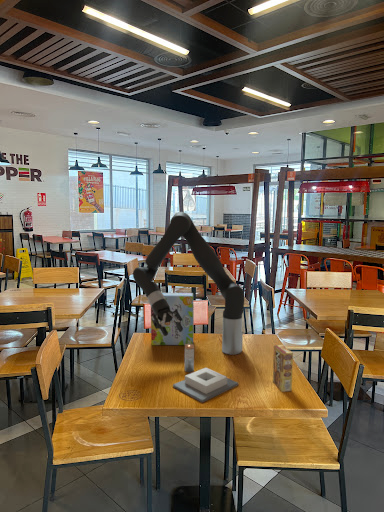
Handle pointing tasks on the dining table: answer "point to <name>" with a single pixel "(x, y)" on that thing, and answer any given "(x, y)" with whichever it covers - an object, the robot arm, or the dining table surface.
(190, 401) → the dining table surface
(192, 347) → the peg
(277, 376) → the candy box
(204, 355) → the dining table surface
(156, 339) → the snack box
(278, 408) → the dining table surface
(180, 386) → the dock
